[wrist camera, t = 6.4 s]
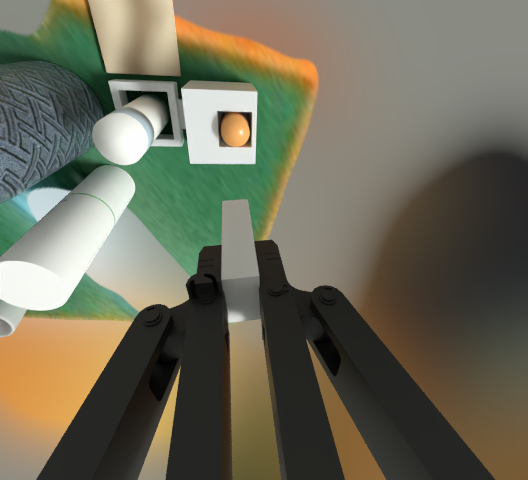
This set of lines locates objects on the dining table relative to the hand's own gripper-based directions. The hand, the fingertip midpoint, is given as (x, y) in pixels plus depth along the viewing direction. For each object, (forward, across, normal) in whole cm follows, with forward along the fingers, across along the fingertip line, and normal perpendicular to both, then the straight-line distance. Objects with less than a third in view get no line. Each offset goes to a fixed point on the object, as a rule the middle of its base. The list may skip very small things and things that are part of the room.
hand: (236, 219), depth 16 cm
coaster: (+32, -11, +11) cm, 36 cm away
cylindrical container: (+33, -22, -10) cm, 40 cm away
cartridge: (+32, -12, +1) cm, 34 cm away
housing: (+32, -6, 0) cm, 33 cm away
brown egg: (+27, +1, 0) cm, 27 cm away
